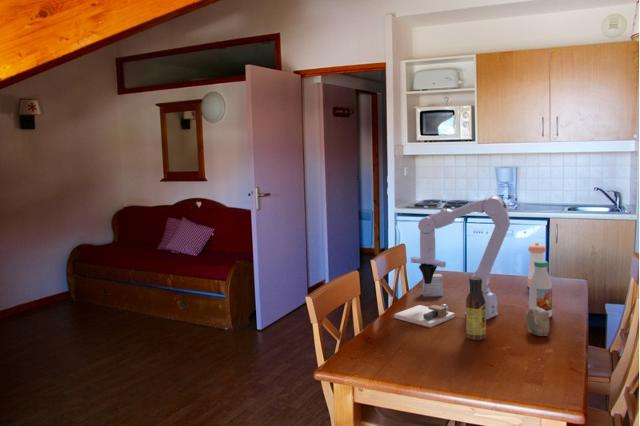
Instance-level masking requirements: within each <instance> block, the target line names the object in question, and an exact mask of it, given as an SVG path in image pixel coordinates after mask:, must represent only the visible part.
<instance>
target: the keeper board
mask: <svg viewBox="0 0 640 426" xmlns="http://www.w3.org/2000/svg"><path fill="white" fill-rule="evenodd" d="M433 310H435V311H438V316H437V317H434V318H432V319H429V320H427V319H424V317H423V314H426V313H428V312H431V311H433ZM455 317H456V313H455V312H452V311H448V314H446V307H442V306H441V305H436V304H433V305H429V306H425V305H422V304H418V305H415V306H412V307H410V308H407V309H404V310H402V311H399V312H396V313H394V319H397V320H401V321H405V322H409V323H413V324H416V325H420V326H423V327H426V328H432V327H434V326H437V325H440V324H441V323H444V322H447V321H450V320H451V319H454V318H455Z"/></svg>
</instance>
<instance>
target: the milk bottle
mask: <svg viewBox="0 0 640 426" xmlns="http://www.w3.org/2000/svg"><path fill="white" fill-rule="evenodd" d="M534 267H535V271H534V274H533V276H532V278H531V280H530V288H529V287H528V288H529V291H528V293H529V294H528V296H529V298H528V311H529V310H530V309H531V308H532V306H537V307H539V308H542V309H544V310H546V311H547V312H548V313H549V315H548V316H549V318H551V317H552V314H553V282H552V280H551V277H550V274H549V272H548V269H549V262H548V261H547V260H544V261H535V262H534Z"/></svg>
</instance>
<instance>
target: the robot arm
mask: <svg viewBox="0 0 640 426" xmlns="http://www.w3.org/2000/svg"><path fill="white" fill-rule="evenodd" d="M471 213H480V214H483V213H485V214H486V215H487V217H489V218H490V219H491V221H492V222H493V224H494V228H493V231H492V233H491V235H490V237H489V240H488V242H487V245H486V247H485V250H484V253H483V255H482V257H481V260H480V262H479V265H478V266H477V269H476V271H475V272H474V273H473V274H472V277H479V278H482V293H483V296H484V299H485V301H486V320H489V319H491V318H493V317H496V316H498V315H499V313H498V298H497V294H495V293H493V292H491V289H490V288H489V286H488V285H489V284H490V280H491V278H490V276H491V275H490V274H491V272H492V269H493V266H494V264H495V261H496V260H497V257H498V254H499V253H500V250H501V248H502V245H503V243H504V240H505V238H506V236H507V234H508V230H509V229H510V225H511V221H510V217H509V211H508V206H507V204H506V202H505V201H504V200H503V198H502V196H498V195H492V196H490V197H489V198H488V197H484V198H481V199H477V200H475V201H472V202H469V203H467V204H465V205H462V206H460V207H458V208H455V209H453V210H452V209H450V208H444V207H443V208H441V209H440V211H438V212H436V213H430V214H429V215H427V216H424V217H422V218H421V219H420V220H419V221H418V222H417V223H418V224H417V225H418V227H417V228H418V230H419V257H416V256H413V257H410V263H411V264H413V263H415V264H420V265H418V269H419V270H420V272H421V274H422V278H423V277H424V281H425V284H430V283H431V281H432V277H433V274H435V272H436V270H437V268H438V267H440V268H446V261H444V260H440V259H436V229H438V230H439V229H442V228H444V227H446V226H449V225H452V224H454V223H455V220H456V219H457V218H460V217H463V216H464V217H465V216H466V215H469V214H471ZM468 287H469V290H468V291H469V293H470V283H469V282H468ZM469 293H468V294H469ZM464 315H465V316H466V312H464Z"/></svg>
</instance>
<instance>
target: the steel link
mask: <svg viewBox="0 0 640 426" xmlns="http://www.w3.org/2000/svg"><path fill="white" fill-rule="evenodd" d="M440 306H442V307H446V314H448V312H449V306H448V305H447V304H445V303H442V304H440ZM437 316H438V311H435V310H433V311H431V312H428V313H426V314H423V317H424V319H427V320H429V319H432V318H434V317H437Z"/></svg>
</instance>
